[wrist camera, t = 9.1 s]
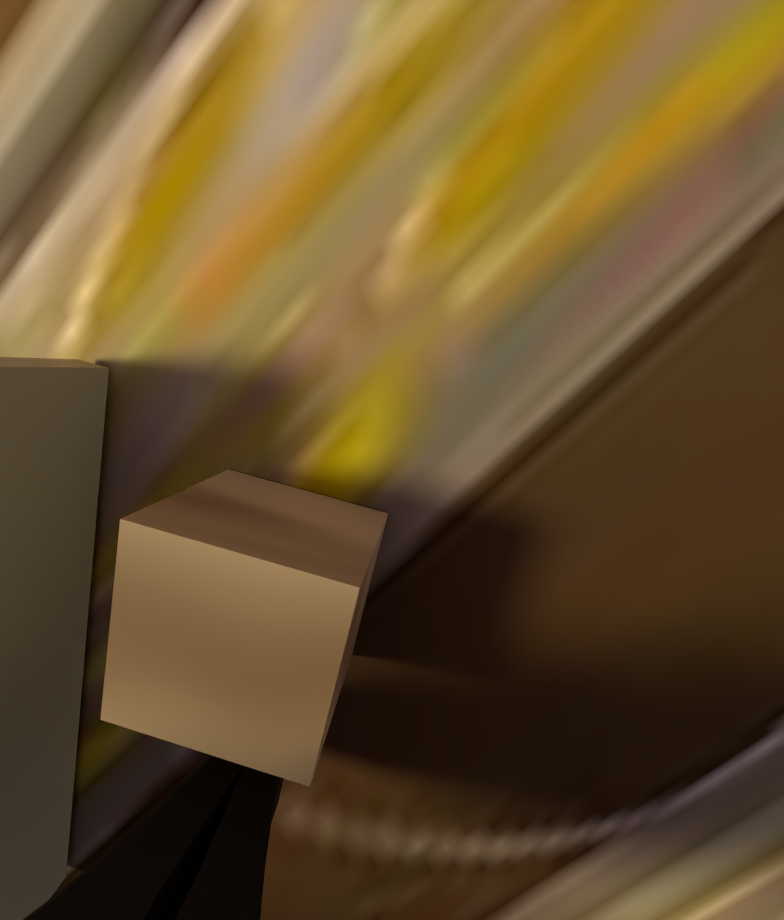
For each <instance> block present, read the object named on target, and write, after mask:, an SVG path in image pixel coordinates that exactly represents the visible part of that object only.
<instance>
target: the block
mask: <svg viewBox="0 0 784 920" xmlns="http://www.w3.org/2000/svg"><path fill="white" fill-rule="evenodd" d="M387 517H388V513H385V512H381V511H378V510H374V509H371V508H367V507H363V506H360V505H356V504H352V503H349V502H345V501H341V500H338V499H334V498H331V497H327V496H323V495H320V494H316V493H312V492H309V491H305V490H301V489H298V488H294V487H290V486H287V485H283V484H280V483H276V482H272V481H269V480H265V479H261V478H258V477H254V476H250V475H247V474H243V473H240V472H236V471H232V470H229V469H228V470H226V471H224V472H222V473H219V474H217V475H215V476H213V477H211V478H208V479H206V480H204V481H202V482H200V483H198V484H195V485H193V486H191V487H189V488H187V489H184V490H182V491H180V492H178V493H176V494H173V495H171V496H169V497H167V498H165V499H163V500H160V501H158V502H156V503H154V504H152V505H149V506H147V507H145V508H143V509H141V510H139V511H136V512H134V513H132V514H130V515H128V516H125V517H123V518H121V519H120V526H119V536H118V546H117V556H116V566H115V576H114V587H113V597H112V607H111V617H110V627H109V637H108V647H107V658H106V668H105V678H104V688H103V698H102V708H101V718H100V720H103V721H106V722H109V723H112V724H115V725H119V726H122V727H125V728H128V729H131V730H134V731H137V732H140V733H143V734H147V735H150V736H153V737H156V738H159V739H162V740H165V741H168V742H172V743H175V744H178V745H181V746H184V747H187V748H190V749H193V750H196V751H200V752H203V753H206V754H209V755H212V756H215V757H218V758H221V759H224V760H228V761H231V762H234V763H237V764H240V765H243V766H246V767H249V768H253V769H256V770H259V771H262V772H265V773H268V774H271V775H274V776H277V777H281V778H284V779H287V780H290V781H293V782H296V783H299V784H302V785H306V786H309V787H310V785H311V782H312V779H313V776H314V772H315V769H316V766H317V763H318V760H319V757H320V754H321V751H322V747H323V744H324V741H325V738H326V735H327V732H328V729H329V726H330V722H331V719H332V716H333V713H334V710H335V707H336V704H337V701H338V698H339V694H340V691H341V688H342V685H343V682H344V679H345V676H346V673H347V669H348V666H349V663H350V660H351V657H352V653H353V649H354V645H355V642H356V638H357V634H358V630H359V626H360V622H361V618H362V614H363V610H364V606H365V603H366V599H367V595H368V591H369V587H370V583H371V579H372V575H373V571H374V567H375V564H376V560H377V556H378V552H379V548H380V544H381V540H382V536H383V532H384V528H385V525H386V521H387Z"/></svg>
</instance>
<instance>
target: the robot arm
mask: <svg viewBox="0 0 784 920" xmlns="http://www.w3.org/2000/svg"><path fill="white" fill-rule="evenodd" d="M283 779H284V778H281V777H277V776H274V775H271V774H268V773H265V772H262V771H259V770H256V769H253V768H249V767H246V766H243V765H240V764H237V763H234V762H231V761H228V760H224V759H221V758H218V757H215V756H212V755H210V756H209V757H208V758H207V759H206V760H205V761H204V762H203V763H202V764H201V765H200V766H199V767H198V768H197V769H196V770H195V771H194V772H193V773H192V774H191V775H190V776H189V777H188V778H187V779H186V780H185V781H184V782H183V783H182V784H181V785H180V786H179V787H178V788H177V789H176V790H175V791H174V792H173V793H172V794H171V795H170V796H169V797H168V798H167V799H166V800H165V801H164V802H163V803H162V804H161V805H160V806H158V807H157V808H156V809H155V810H154V811H153V812H152V813H151V814H150V815H149V816H148V817H147V818H145V819H144V820H143V821H142V822H141V823H140V824H139V825H138V826H136V827H135V828H134V829H133V830H132V831H131V832H130V833H129V834H128V835H126V836H125V837H124V838H123V839H122V840H121V841H120V842H119V843H117V844H116V845H115V846H114V847H113V848H112V849H111V850H109V851H108V852H107V853H106V854H105V855H104V856H102V857H101V858H100V859H99V860H98V861H96V862H95V863H94V864H93V865H92V866H90V867H89V868H88V869H87V870H86V871H84V872H83V873H82V874H81V875H80V876H78V877H77V878H76V879H75V880H73V881H72V882H71V883H70V884H68V885H67V886H66V887H65V888H63V889H62V890H61V891H60V892H58V893H57V894H56V895H54V896H53V897H52V898H51V899H49V900H48V901H47V902H45V903H44V904H43V905H41V906H40V907H39V908H37V909H36V910H35V911H34V912H32V913H31V914H30V915H28V916H27V917H26V918H24V919H23V920H260V914H261V902H262V892H263V882H264V872H265V863H266V855H267V847H268V840H269V834H270V827H271V822H272V819H273V816H274V813H275V810H276V807H277V804H278V800H279V796H280V792H281V787H282V783H283Z"/></svg>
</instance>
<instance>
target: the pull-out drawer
mask: <svg viewBox="0 0 784 920" xmlns="http://www.w3.org/2000/svg"><path fill="white" fill-rule="evenodd" d="M108 373H109V368H108V367H104V366H100V365H96V364H93V363H89V362H85V361H81V360H77V359H46V358H15V357H0V920H23V919H24V918H26V917H27V916H28V915H30V914H31V913H32V912H34V911H35V910H36V909H37V908H39V907H40V906H41V905H43V904H44V903H45V902H47V901H48V900H49V899H50V898H51V896H52V895H53V894H54V892H55V891H56V890H57V888H58V887H59V886H60V884H61V883H62V882H63V880H64V879H65V878H66V871H67V859H68V847H69V835H70V824H71V812H72V800H73V788H74V776H75V764H76V752H77V741H78V729H79V717H80V705H81V693H82V681H83V670H84V658H85V646H86V634H87V622H88V610H89V598H90V587H91V575H92V563H93V551H94V539H95V527H96V515H97V504H98V492H99V480H100V468H101V456H102V444H103V432H104V421H105V409H106V397H107V385H108Z"/></svg>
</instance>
